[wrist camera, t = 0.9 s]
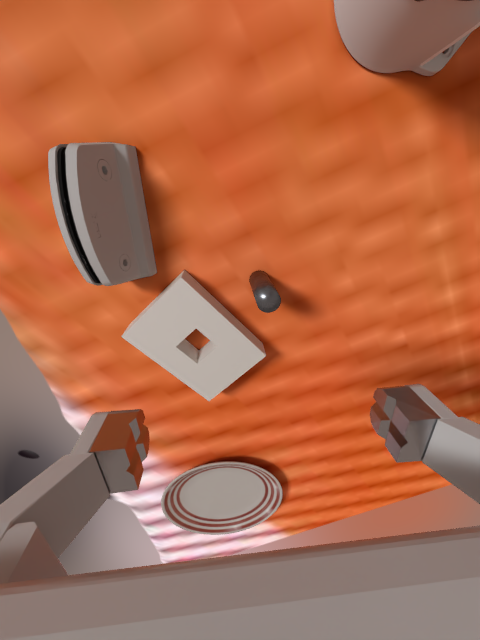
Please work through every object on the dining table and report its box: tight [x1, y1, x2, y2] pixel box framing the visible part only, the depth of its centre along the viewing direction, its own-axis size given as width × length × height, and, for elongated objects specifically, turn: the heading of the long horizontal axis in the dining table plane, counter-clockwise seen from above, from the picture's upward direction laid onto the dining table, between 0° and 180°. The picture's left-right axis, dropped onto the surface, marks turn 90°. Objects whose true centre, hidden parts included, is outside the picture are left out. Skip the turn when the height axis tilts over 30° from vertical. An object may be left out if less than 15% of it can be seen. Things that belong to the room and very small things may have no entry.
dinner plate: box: [161, 461, 282, 535], centre depth 62 cm, size 28×27×3 cm
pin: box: [249, 270, 281, 313], centre depth 37 cm, size 3×3×9 cm
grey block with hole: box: [122, 270, 266, 401], centre depth 43 cm, size 13×18×4 cm
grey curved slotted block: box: [48, 142, 157, 286], centre depth 33 cm, size 17×5×10 cm, turn 2°
